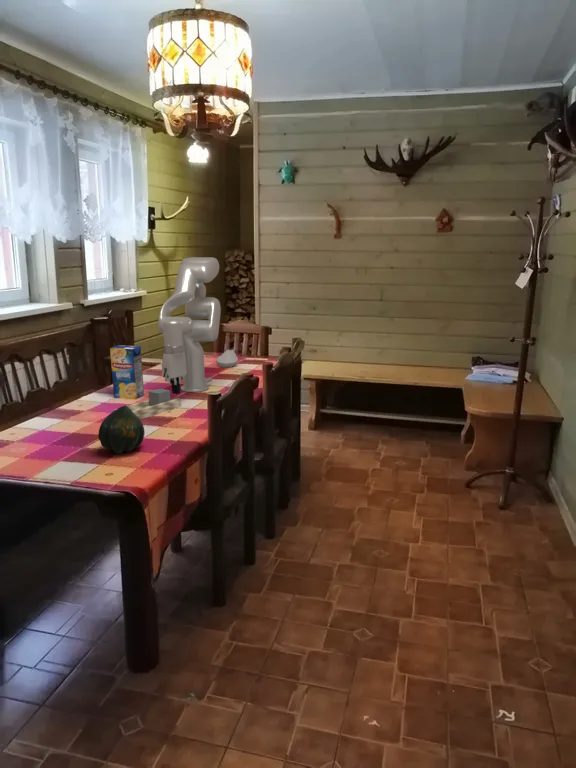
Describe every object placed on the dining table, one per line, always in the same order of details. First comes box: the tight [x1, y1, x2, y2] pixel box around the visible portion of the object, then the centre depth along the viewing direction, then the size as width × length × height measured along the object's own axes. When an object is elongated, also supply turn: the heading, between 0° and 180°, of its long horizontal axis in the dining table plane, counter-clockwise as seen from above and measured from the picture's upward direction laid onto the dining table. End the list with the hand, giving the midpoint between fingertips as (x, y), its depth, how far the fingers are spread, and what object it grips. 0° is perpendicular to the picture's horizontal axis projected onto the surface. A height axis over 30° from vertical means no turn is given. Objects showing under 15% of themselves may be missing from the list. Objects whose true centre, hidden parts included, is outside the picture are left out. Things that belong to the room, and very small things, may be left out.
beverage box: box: [109, 344, 145, 400], centre depth 262 cm, size 7×11×22 cm, turn 75°
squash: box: [97, 405, 146, 455], centre depth 199 cm, size 14×15×15 cm
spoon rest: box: [215, 349, 239, 368], centre depth 328 cm, size 24×12×7 cm, turn 177°
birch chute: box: [113, 397, 182, 420], centre depth 240 cm, size 26×9×4 cm, turn 143°
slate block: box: [148, 388, 172, 406], centre depth 244 cm, size 6×6×6 cm
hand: (176, 393), depth 251 cm, fingers closed
